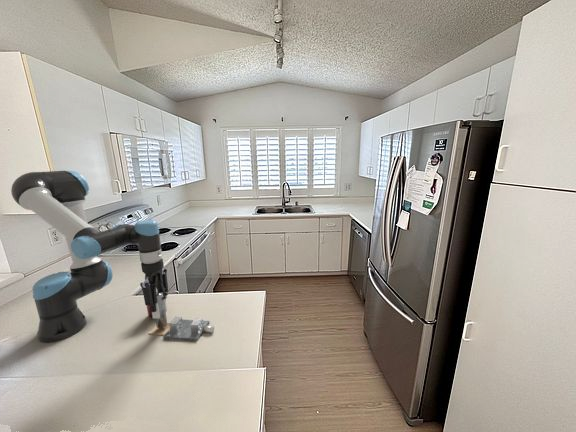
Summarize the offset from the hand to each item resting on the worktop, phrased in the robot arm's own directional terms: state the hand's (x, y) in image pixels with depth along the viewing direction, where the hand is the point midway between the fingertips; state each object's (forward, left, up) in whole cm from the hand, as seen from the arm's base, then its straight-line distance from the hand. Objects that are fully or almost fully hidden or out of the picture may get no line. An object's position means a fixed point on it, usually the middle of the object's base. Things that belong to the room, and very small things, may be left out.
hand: (160, 314), depth 102 cm
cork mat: (0, 0, -7) cm, 7 cm away
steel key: (0, 0, -5) cm, 5 cm away
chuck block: (+13, 0, -7) cm, 15 cm away
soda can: (-8, +9, -7) cm, 14 cm away
